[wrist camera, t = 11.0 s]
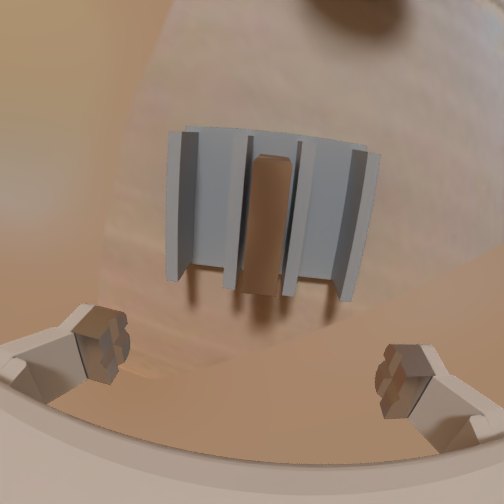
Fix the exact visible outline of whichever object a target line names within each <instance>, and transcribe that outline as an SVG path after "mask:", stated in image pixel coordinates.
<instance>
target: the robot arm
mask: <svg viewBox="0 0 504 504" xmlns="http://www.w3.org/2000/svg"><path fill="white" fill-rule="evenodd" d="M127 324H128V323H127V317H126V314H125V313H124V312H121V311H117V310H113V309H109V308H105V307H101V306H96V305H92V304H87V303H82V304H81V305H80V306H79V307H78V308H77V309H76V310H75V311H74V312H73V313H72V314H71V315H70V316H69V317H68V318H67V319H66V320H65V321H64V322H63V323H62V324H61V325H60V326H59V327H58V328H55V327H52V328H49V329H46V330H43V331H40V332H37V333H35V334H32V335H29V336H25V337H23V338H20V339H17V340H14V341H11V342H8V343H5V344H2V345H0V504H504V409H503V408H502V407H500V406H499V405H497V404H496V403H494V402H493V401H491V400H490V399H488V398H487V397H485V396H484V395H482V394H481V393H479V392H478V391H476V390H475V389H473V388H472V387H470V386H469V385H467V384H466V383H464V382H462V381H461V380H460V379H459V378H457V377H455V376H454V375H449V373H448V371H447V370H446V368H445V366H444V364H443V362H442V361H441V359H440V357H439V355H438V354H437V352H436V350H435V348H434V347H433V346H432V345H431V344H416V345H407V344H406V345H404V344H389V345H388V346H387V348H386V349H385V352H384V357H385V361H384V362H382V363H381V364H380V365H379V366H378V369H377V372H376V377H375V388H376V392H377V394H378V395H380V396H381V397H382V400H381V402H380V406H381V410H382V413H383V416H384V419H396V418H397V419H398V418H408V420H409V421H410V422H411V423H412V425H413V426H414V427H415V428H416V429H417V430H418V431H419V432H420V433H421V434H422V435H423V436H424V437H425V438H426V439H427V440H428V441H429V443H431V445H432V446H433V447H434V448H435V449H436V450H437V451H438V452H439V453H440V454H436V455H431V456H425V457H418V458H411V459H404V460H395V461H385V462H374V463H360V464H289V463H273V462H261V461H252V460H243V459H235V458H228V457H221V456H215V455H209V454H203V453H198V452H192V451H188V450H183V449H178V448H174V447H169V446H165V445H161V444H157V443H153V442H150V441H146V440H142V439H139V438H135V437H132V436H128V435H125V434H122V433H118V432H116V431H112V430H109V429H106V428H104V427H101V426H98V425H95V424H92V423H90V422H87V421H84V420H81V419H79V418H77V417H74V416H72V415H69V414H67V413H64V412H62V411H59V410H57V409H55V408H52V407H50V406H48V405H46V404H48V403H50V402H51V401H53V400H55V399H56V398H58V397H60V396H61V395H63V394H65V393H67V392H68V391H70V390H71V389H73V388H75V387H76V386H78V385H80V384H82V383H83V382H85V381H87V379H91V380H94V381H97V382H101V383H105V384H108V385H111V383H112V382H113V380H114V378H115V377H116V375H117V373H118V372H119V370H118V365H120V364H122V363H124V362H125V360H126V359H127V357H128V354H129V350H130V336H129V334H128V333H127V331H126V330H125V329H124V328H125V327H126V325H127Z"/></svg>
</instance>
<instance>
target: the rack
mask: <svg viewBox="0 0 504 504" xmlns="http://www.w3.org/2000/svg"><path fill="white" fill-rule="evenodd" d="M366 150H367V146H364V145H359V144H354V143H348V142H342V141H336V140H330V139H324V138H317V137H310V136H303V135H295V134H287V133H278V132H269V131H259V130H247V129H234V128H218V127H196V126H185V132H169V139H168V157H167V181H166V280H167V281H174V282H178V281H179V279H180V278H181V276H182V275H183V273H184V272H185V270H186V269H187V267H188V266H189V264H198V265H206V266H214V267H223V268H224V276H223V288H226V289H234V290H235V288H236V284H237V281H238V277H239V274H240V270H243V268H244V257H245V246H246V235H247V224H248V213H249V202H250V191H251V180H252V169H253V161H254V160H255V159H256V158H257V157H258V156H259V155H260V154H267V155H276V156H285V157H289V159H290V161H291V163H292V165H293V167H292V176H291V184H290V193H289V201H288V209H287V217H286V225H285V232H284V240H283V248H282V255H281V262H280V270H279V274H282V295H285V296H295V290H296V284H297V278H298V276H300V277H309V278H319V279H328V280H333V282H334V285H335V288H336V291H337V294H338V297H339V300H340V301H345V302H351V301H352V297H353V293H354V289H355V285H356V281H357V277H358V273H359V269H360V265H361V260H362V256H363V251H364V247H365V242H366V237H367V233H368V228H369V223H370V218H371V212H372V207H373V201H374V196H375V190H376V184H377V177H378V171H379V164H380V157H381V155H380V154H376V153H371V152H366Z"/></svg>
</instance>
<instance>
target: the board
mask: <svg viewBox="0 0 504 504" xmlns="http://www.w3.org/2000/svg"><path fill="white" fill-rule="evenodd" d="M292 167H293V165H292V163H291V161H290V159H289V157H285V156H276V155H267V154H260V155H259V156H258V157H257V158H256V159H255V160H254V161H253V169H252V180H251V191H250V202H249V213H248V224H247V235H246V246H245V257H244V268H243V280H242V291H241V293H249V294H258V295H266V296H275V297H276V291H277V284H278V277H279V270H280V262H281V255H282V248H283V240H284V232H285V225H286V217H287V209H288V201H289V193H290V184H291V176H292Z"/></svg>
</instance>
